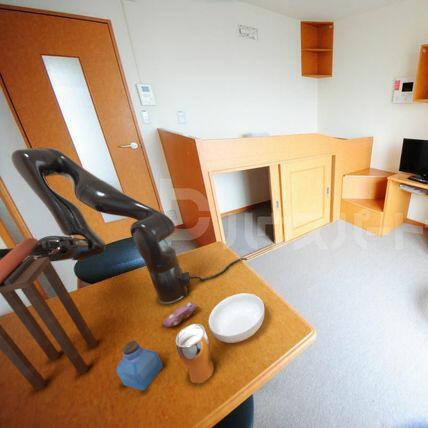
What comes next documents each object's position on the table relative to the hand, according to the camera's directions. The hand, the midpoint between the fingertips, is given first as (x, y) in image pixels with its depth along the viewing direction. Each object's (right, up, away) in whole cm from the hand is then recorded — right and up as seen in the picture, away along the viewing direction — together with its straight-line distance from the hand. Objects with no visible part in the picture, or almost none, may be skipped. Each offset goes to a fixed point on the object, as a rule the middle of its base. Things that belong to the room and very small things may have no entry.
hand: (20, 249), depth 58 cm
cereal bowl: (+47, -29, +21) cm, 59 cm away
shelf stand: (+3, -34, +9) cm, 35 cm away
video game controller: (+26, -28, +23) cm, 45 cm away
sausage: (+2, -4, -3) cm, 5 cm away
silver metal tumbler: (+41, -35, +8) cm, 55 cm away
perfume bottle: (+26, -35, +6) cm, 44 cm away
